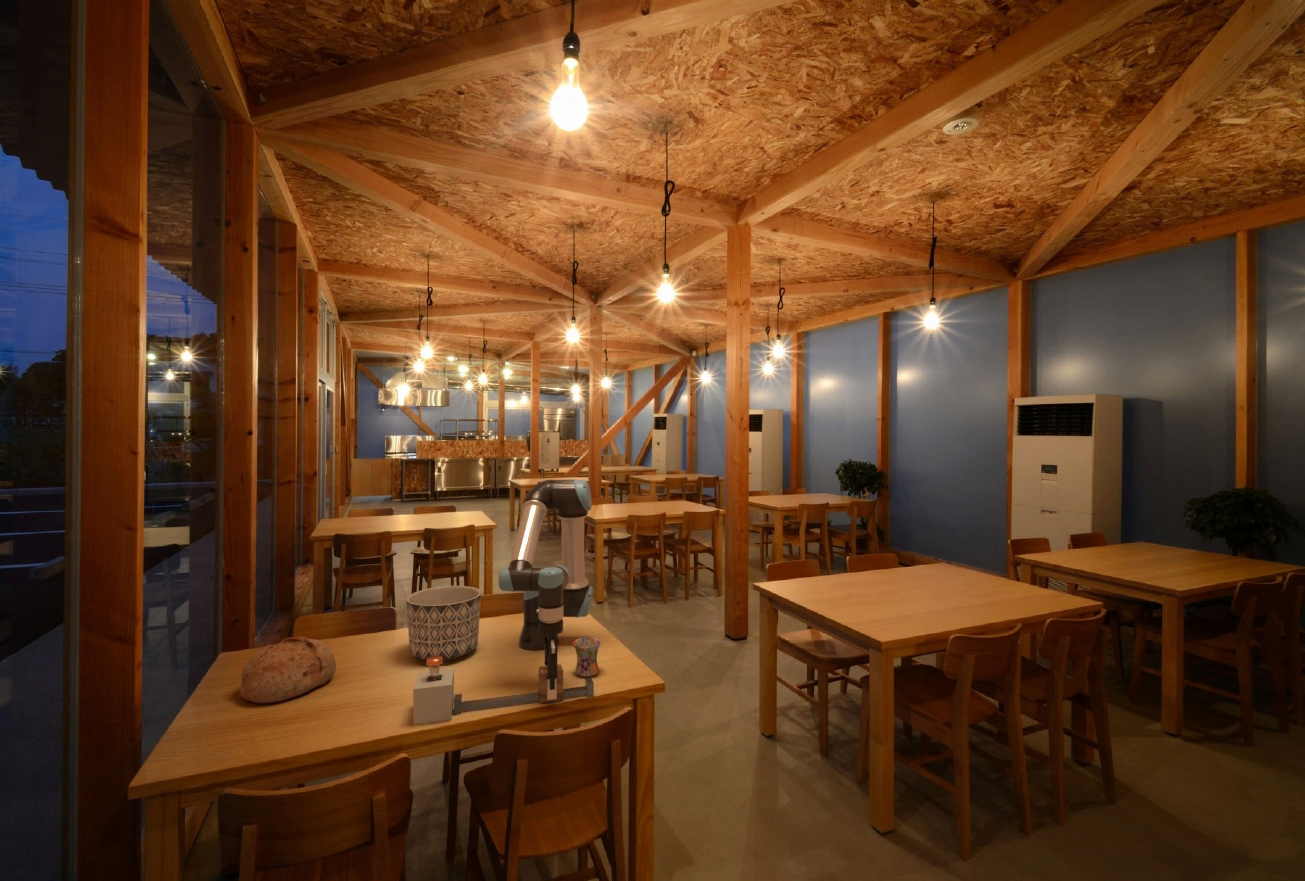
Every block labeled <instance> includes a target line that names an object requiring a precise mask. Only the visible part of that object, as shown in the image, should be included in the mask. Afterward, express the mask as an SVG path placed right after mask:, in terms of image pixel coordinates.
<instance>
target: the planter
mask: <svg viewBox="0 0 1305 881" xmlns="http://www.w3.org/2000/svg"><path fill="white" fill-rule="evenodd" d="M405 600H406V601H405V602H406V615H407V616H406V617H407V630H408V645H409V646H408V647H409V654H410V655H411V656H412V657H414V659H418V660H422V661H426V660H427V658H429V657H432V656H442V657H443V662H448V661H453V660H456V659H459V658H461V657H463V656H465V655H467V654H470V653H471V652H473V651H474V650H475V649H476V648H477V646H478V644H479V633H480V631H479V630H480V629H479V628H480V618H481V617H480V616H481V602H482V601H481V600H482V591H481V590H480V589H479V588H477V587H473V586H467V585H448V586H447V585H445V586H437V587H430V588H426V589H422V590H418V591H415V592H412V593H411V594H409V595H407V597H406V599H405Z"/></svg>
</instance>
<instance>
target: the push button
mask: <svg viewBox="0 0 1305 881" xmlns="http://www.w3.org/2000/svg"><path fill="white" fill-rule="evenodd" d="M425 661H426V666H428V667H429V671H430V681H438V680H439V670H440V666H441V665H442V664H443V662H444V661H443V657H442V656H432V657H429V658H427V660H425Z"/></svg>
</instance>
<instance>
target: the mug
mask: <svg viewBox="0 0 1305 881" xmlns="http://www.w3.org/2000/svg"><path fill="white" fill-rule="evenodd" d="M572 644H573V647H574V649H575V654H576V666H575V668H574V671H573V672H574V674H575V675H577V676H579V677H584V678H587V677H588V678H589V677H593V676H596V675H598V673H599V672H600V668H599V665H598V658H597V657H598V652H599V651H598V650H599V648H600V646H601V640H600V639H599V638H596V637H591V636H590V637H581V638H577V639H575V640H574V641H573V643H572Z"/></svg>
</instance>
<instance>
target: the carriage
mask: <svg viewBox="0 0 1305 881" xmlns="http://www.w3.org/2000/svg"><path fill="white" fill-rule="evenodd" d="M557 676H558V677H557V699H553V700H547V680H546V677H548V666H545V665H541V666H539V667H538V692H539V693H540V702H539V703H540V704H542V703H549V702H558V701H564V699H563V689H564V670H563V666H562V664H561V663H557Z"/></svg>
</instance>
